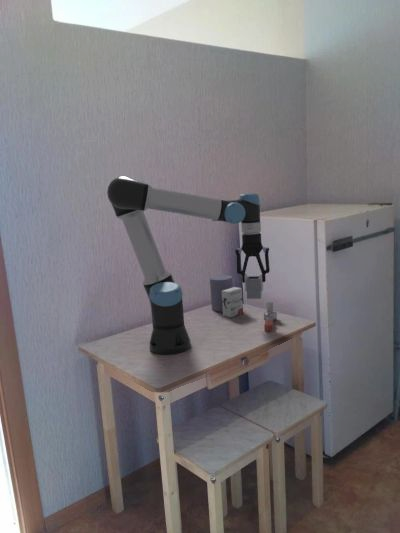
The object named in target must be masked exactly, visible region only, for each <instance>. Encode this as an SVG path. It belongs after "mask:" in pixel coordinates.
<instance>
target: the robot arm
mask: <svg viewBox="0 0 400 533" xmlns="http://www.w3.org/2000/svg"><path fill="white" fill-rule="evenodd" d="M107 198H108V200H109V202H110V203H111V206H112V209H113V211H114V214H115V216H116V218H117V219H120V220H121V221H122V223H123V225H124V227H125V231H126V234H127V236H128V238H129V241H130V243H131V246H132V249H133V251H134V253H135V256H136V259H137V262H138V264H139V267H140V269H141V271H142V274H143V276H144V280H143V281H142V285H143V287H144V290H145V293H146V295H147V298H148V301H149V305H150V311H151V313H150V314H151V321H152V323H151V324H152V331H151V336H150V340H149V350H150V352H152V353H154V354H157V355H175V354H179V353H183V352H186V351H187V350H189V349H190V348H191V338H190V336H189V333H188V331H187V328H186V325H185V317H184V316H185V315H184V304H183V303H184V302H183V291H182V287H181V285H180V284H178V283H176V282H175V280H174V277H173V275H172V273H171V271H169V270H166V268H165V264H164V262H163V259H162V257H161V255H160V252H159V249H158V246H157V244H156V241H155V238H154V235H153V234H152V230H151V228H150V225H149V223H148V219H147V217H146V215H145V212H146V211H147V210H149V209H150V210H155V211H160V212H165V213H166V212H167V213H173V214H179V215H183V216H188V217H189V216H191V217H196V218H202V219H207V220H211V221H213V222H223V223H224V222H225V223H229V224H231V225H236V224H239V223H241V224H240V226H241V233H242V234H241V239H242V240H241V243H242V245H241V247H239V248H236V249H235V250H234V251H235V254H236V273H237V274H238V275H241V282H242V284H244V290H245V292H247V288H246V279H247V277H248V273H246V271H247V266H248V262H249V258H250V257H256V258H255V259H256V260H257V264H258V267H259V270H260V272H261V273H260V275H259V276H260V283H261V291H262V292H263V291H264V283H266V279H267V278H266V274H269V273H270V271H271V270H270V259H269V256H270V255H269V251H270V247H268V246H267V247H265V246H264V245H263V243H262V233H260V232H261V230H262V229H261V228H262V227H261V225H262V224H261V203H260V196H259V194H258V193H255V192H254V193H241V194H240V195H239V199H234V200H233V199H232V200H225V199H223V200H222V199H219V198H213V197H209V196H203V195H197V194H191V193H185V192H181V191H180V192H179V191H175V190H169V189H163V188H160V187H159V188H158V187H153V186H151V184H150V183H148V182H144V181H139V180H136V179H134V178H131V177H130V176H123V175H122V176H117V177H116V178H114V179H113V180H111V181H110V183H109V185H108V186H107ZM262 251H263V254H264V261H265V267H264V264H263V261H262V258H261V256H260V255H261V254H260V253H261V252H262ZM242 252H243V253H244V254H245V258H244V262H243V265H242V266H241V263H242V262H241V261H242V260H241V256H242V255H241V254H242ZM241 268H242V269H241Z"/></svg>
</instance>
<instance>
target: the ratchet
mask: <svg viewBox="0 0 400 533" xmlns="http://www.w3.org/2000/svg"><path fill="white" fill-rule="evenodd" d="M263 320H265V321H264V325H263V326H264V332H267V333H268V332H271V333H272V332H273V329H274V322H276V321H275V320H277V321H278V312H276V311H274V300H266V311H264V312H263ZM273 321H274V322H273Z"/></svg>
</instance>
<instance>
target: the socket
mask: <svg viewBox="0 0 400 533" xmlns="http://www.w3.org/2000/svg"><path fill="white" fill-rule="evenodd" d="M246 288H247V291H246V299H248V300H250V299H251V300H254V299H256V300H257V299H259V300H261V299H262V296H263V291H261V283H260V275H257V276H255V275H253V276H252V275H251V276H250V275H249V276H248V275H247V279H246Z"/></svg>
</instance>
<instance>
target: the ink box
mask: <svg viewBox="0 0 400 533" xmlns="http://www.w3.org/2000/svg"><path fill="white" fill-rule="evenodd" d="M243 299H244V298H243V288H242V287H238V286H237V287H235V286H233V288H230V289H226V290H223V291H222V305H223V311H222V316H223V317H226V316H227V317H226V318H230V317H231V318H233V316H234V317H236V316H235V315H237V316H239V315H238V314H240V313H242V314H244V306H243V305H244V303H243ZM240 315H241V314H240Z"/></svg>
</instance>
